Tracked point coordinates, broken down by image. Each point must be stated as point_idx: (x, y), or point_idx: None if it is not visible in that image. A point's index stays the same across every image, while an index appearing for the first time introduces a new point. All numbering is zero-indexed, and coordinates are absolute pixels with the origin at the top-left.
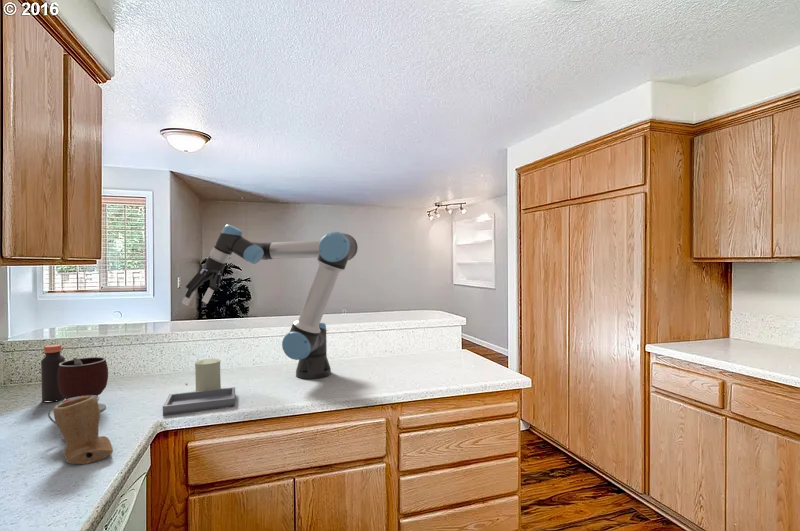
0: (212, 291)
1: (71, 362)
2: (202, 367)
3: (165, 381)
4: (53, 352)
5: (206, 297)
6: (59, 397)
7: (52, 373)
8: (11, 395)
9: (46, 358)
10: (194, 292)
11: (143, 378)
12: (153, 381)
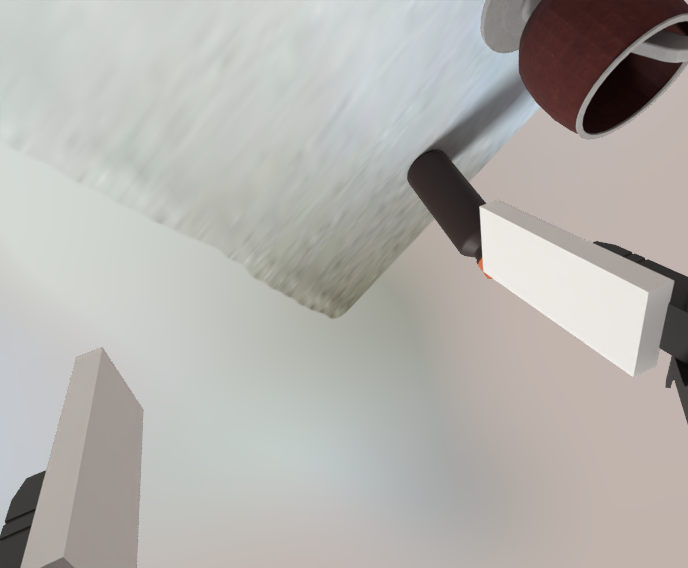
0: (71, 538)
1: (591, 131)
2: None
3: (213, 62)
4: None
5: (118, 433)
6: (437, 154)
7: (482, 199)
8: (397, 252)
9: None
10: (651, 282)
11: (216, 174)
12: (232, 108)
